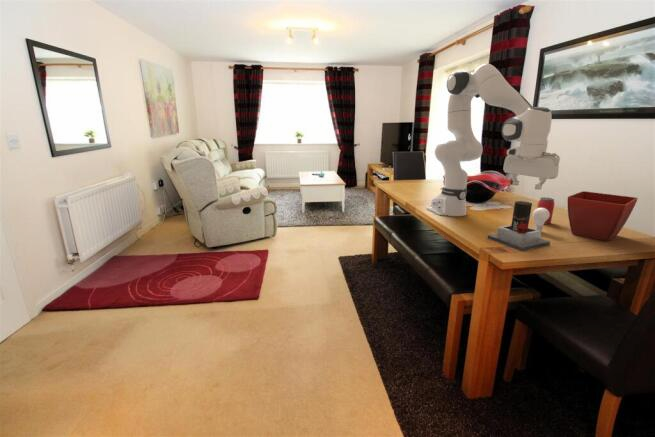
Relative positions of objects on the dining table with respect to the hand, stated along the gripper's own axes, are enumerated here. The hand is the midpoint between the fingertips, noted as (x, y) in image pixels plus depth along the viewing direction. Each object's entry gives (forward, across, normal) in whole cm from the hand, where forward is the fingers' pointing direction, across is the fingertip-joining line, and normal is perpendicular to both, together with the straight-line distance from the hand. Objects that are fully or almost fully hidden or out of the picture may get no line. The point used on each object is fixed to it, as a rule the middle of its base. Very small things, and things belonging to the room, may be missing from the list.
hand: (526, 187), depth 126 cm
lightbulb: (+23, +5, -20) cm, 31 cm away
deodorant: (+22, 0, 0) cm, 22 cm away
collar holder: (+23, 0, 0) cm, 23 cm away
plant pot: (+23, -8, -37) cm, 44 cm away
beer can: (+23, +13, -35) cm, 44 cm away
